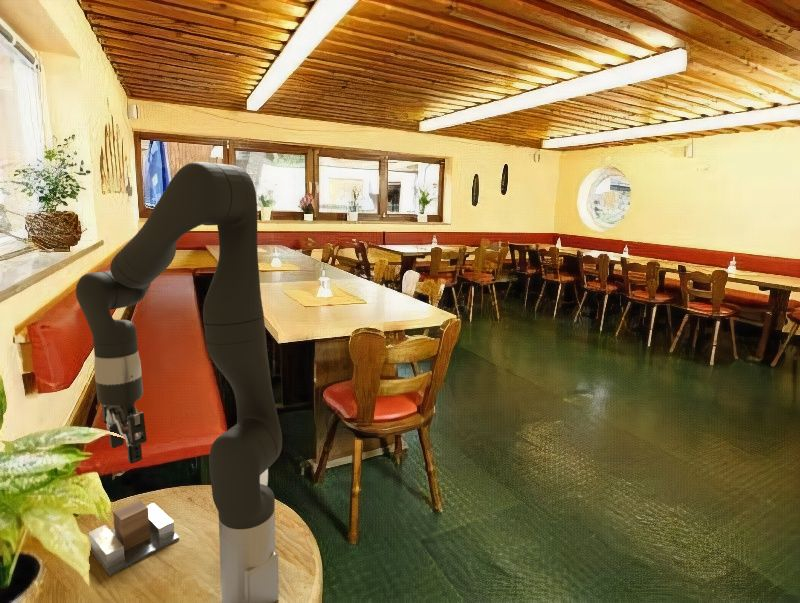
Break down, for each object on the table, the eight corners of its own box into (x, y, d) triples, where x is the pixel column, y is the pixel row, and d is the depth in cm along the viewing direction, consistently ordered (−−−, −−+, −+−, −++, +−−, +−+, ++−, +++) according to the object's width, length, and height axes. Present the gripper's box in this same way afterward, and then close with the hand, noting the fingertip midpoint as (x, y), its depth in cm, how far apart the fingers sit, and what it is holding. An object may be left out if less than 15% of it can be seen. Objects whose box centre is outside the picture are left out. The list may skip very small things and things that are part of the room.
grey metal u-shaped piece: (178, 539, 97) (178, 524, 96) (109, 576, 87) (108, 559, 86) (152, 513, 104) (151, 499, 103) (86, 544, 94) (84, 529, 93)
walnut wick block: (150, 537, 96) (147, 507, 94) (124, 551, 92) (121, 520, 91) (141, 528, 98) (139, 499, 97) (115, 541, 94) (112, 511, 93)
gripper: (156, 380, 86) (162, 459, 90) (124, 361, 95) (131, 434, 98) (111, 391, 81) (120, 475, 84) (82, 371, 89) (90, 448, 93)
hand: (126, 453), depth 91 cm, fingers open, 8 cm apart
